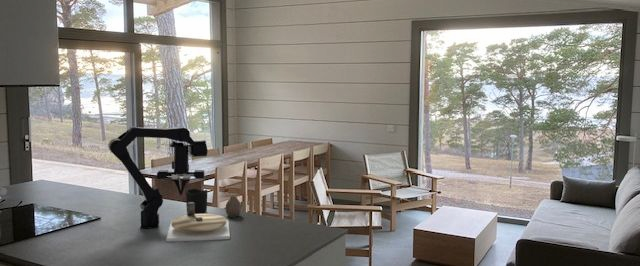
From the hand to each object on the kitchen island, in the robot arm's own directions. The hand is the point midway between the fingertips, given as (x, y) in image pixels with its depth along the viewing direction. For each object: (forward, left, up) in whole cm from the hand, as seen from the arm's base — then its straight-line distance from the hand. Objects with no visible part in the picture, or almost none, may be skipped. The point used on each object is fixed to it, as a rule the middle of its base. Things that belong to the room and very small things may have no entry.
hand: (181, 194), depth 216 cm
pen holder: (+6, +16, -12) cm, 21 cm away
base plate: (+8, -14, -12) cm, 20 cm away
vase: (+22, +8, -12) cm, 26 cm away
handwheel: (+8, -13, -10) cm, 19 cm away
